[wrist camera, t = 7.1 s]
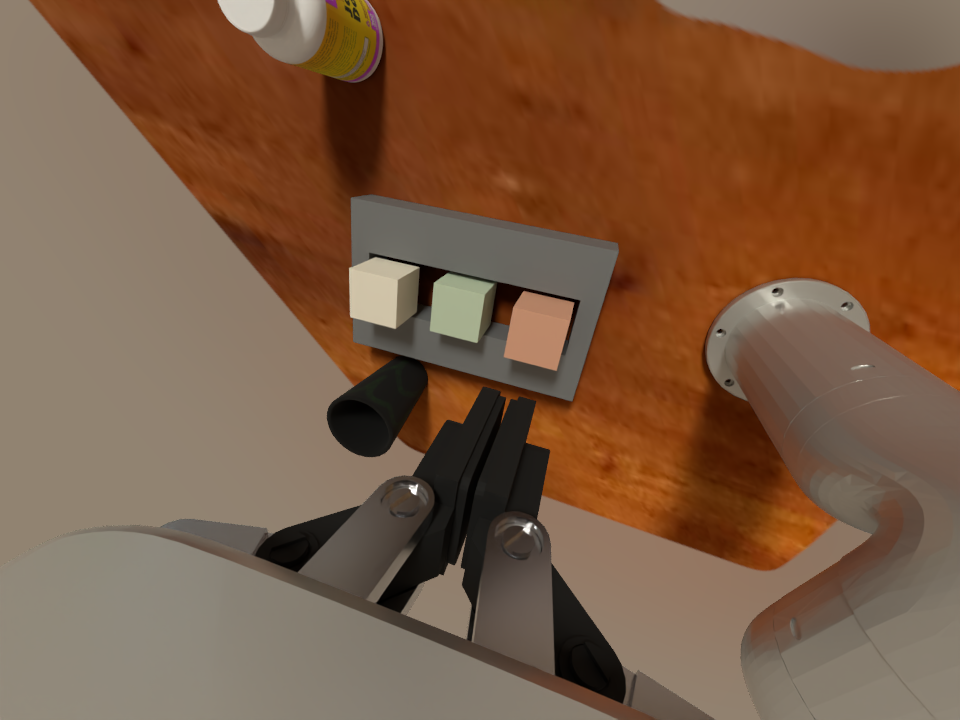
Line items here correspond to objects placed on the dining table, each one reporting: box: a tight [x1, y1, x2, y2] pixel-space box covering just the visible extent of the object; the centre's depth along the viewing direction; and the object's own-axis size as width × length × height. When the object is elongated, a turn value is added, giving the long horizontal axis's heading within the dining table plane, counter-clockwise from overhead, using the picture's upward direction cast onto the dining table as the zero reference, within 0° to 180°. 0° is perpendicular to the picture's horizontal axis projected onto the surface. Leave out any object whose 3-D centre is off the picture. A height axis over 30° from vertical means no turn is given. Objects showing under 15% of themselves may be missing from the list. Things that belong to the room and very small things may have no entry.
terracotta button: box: [504, 291, 574, 371], centre depth 37 cm, size 5×5×5 cm
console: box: [351, 194, 619, 401], centre depth 42 cm, size 26×16×4 cm, turn 82°
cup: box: [327, 356, 428, 457], centre depth 46 cm, size 8×8×12 cm
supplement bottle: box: [218, 0, 383, 82], centre depth 31 cm, size 7×7×13 cm
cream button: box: [349, 257, 420, 329], centre depth 40 cm, size 5×5×5 cm
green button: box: [430, 271, 497, 343], centre depth 40 cm, size 5×5×5 cm
